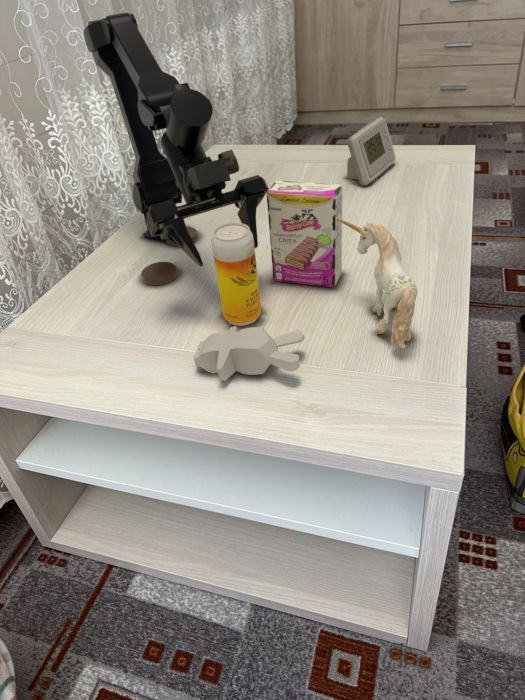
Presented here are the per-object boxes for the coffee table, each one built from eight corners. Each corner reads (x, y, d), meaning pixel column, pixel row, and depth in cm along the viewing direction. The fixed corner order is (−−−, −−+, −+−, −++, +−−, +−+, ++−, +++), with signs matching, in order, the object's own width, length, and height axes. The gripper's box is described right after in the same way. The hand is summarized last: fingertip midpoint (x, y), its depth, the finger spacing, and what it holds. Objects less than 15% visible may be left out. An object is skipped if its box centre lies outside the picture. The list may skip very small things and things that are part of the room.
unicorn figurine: (375, 281, 92) (378, 207, 84) (442, 347, 78) (455, 264, 69) (336, 292, 91) (336, 217, 82) (397, 361, 76) (404, 278, 68)
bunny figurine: (202, 321, 81) (302, 313, 77) (211, 348, 84) (308, 342, 80) (184, 362, 74) (294, 357, 70) (195, 390, 77) (300, 386, 73)
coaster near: (135, 281, 99) (133, 276, 98) (156, 264, 103) (155, 259, 103) (163, 288, 97) (162, 282, 96) (184, 270, 101) (183, 265, 100)
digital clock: (364, 189, 122) (365, 140, 115) (332, 180, 127) (332, 133, 120) (407, 166, 130) (410, 119, 123) (375, 158, 135) (377, 113, 129)
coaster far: (159, 243, 110) (158, 238, 109) (178, 229, 114) (176, 224, 113) (186, 248, 107) (184, 243, 107) (203, 234, 112) (202, 228, 111)
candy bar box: (272, 282, 95) (264, 192, 85) (281, 268, 99) (274, 179, 88) (336, 289, 92) (335, 196, 81) (342, 274, 95) (343, 182, 85)
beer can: (257, 328, 85) (247, 241, 76) (219, 326, 86) (204, 240, 77) (264, 306, 89) (256, 221, 80) (228, 304, 91) (216, 221, 81)
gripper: (133, 150, 74) (178, 256, 72) (256, 119, 79) (300, 217, 78) (130, 189, 84) (169, 282, 83) (239, 159, 90) (277, 245, 89)
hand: (229, 256), depth 83 cm, fingers open, 9 cm apart
